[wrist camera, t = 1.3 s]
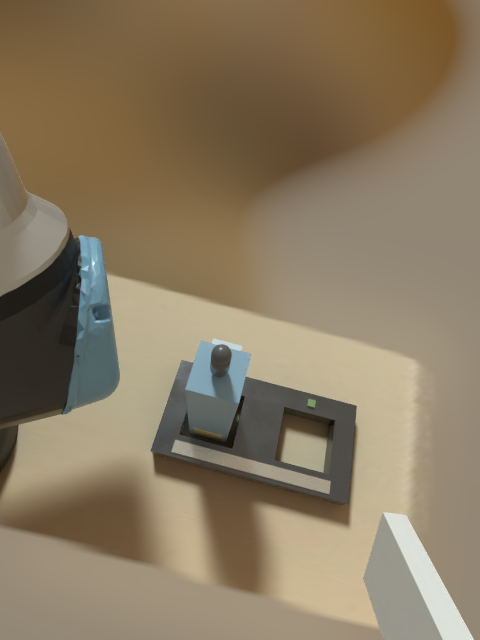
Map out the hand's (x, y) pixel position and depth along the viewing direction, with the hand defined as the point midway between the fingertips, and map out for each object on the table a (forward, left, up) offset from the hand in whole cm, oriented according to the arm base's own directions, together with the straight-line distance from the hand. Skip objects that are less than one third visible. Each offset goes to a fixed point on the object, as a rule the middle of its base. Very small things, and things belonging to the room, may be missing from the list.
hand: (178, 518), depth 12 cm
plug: (-1, +10, -27) cm, 29 cm away
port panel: (+4, +10, -27) cm, 29 cm away
